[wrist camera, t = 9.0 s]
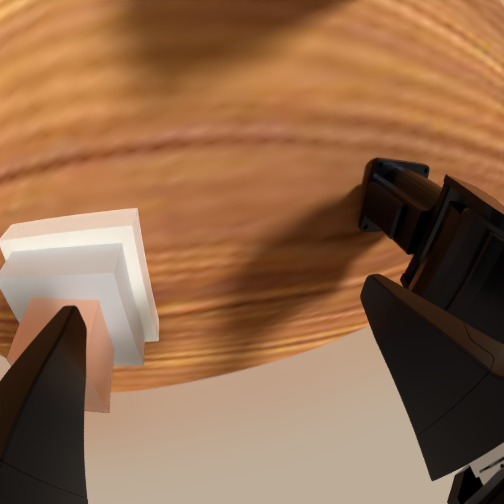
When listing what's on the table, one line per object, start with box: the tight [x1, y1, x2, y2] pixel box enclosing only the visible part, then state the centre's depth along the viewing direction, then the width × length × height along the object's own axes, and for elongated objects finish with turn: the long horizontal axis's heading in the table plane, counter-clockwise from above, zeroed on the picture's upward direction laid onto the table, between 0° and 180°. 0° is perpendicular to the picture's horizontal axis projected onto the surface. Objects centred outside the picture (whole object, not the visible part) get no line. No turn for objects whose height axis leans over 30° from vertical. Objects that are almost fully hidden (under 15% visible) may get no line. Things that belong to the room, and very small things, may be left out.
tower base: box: [0, 208, 159, 342], centre depth 19 cm, size 11×11×3 cm
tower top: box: [0, 243, 145, 366], centre depth 17 cm, size 9×9×3 cm
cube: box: [7, 297, 115, 413], centre depth 13 cm, size 5×5×5 cm
